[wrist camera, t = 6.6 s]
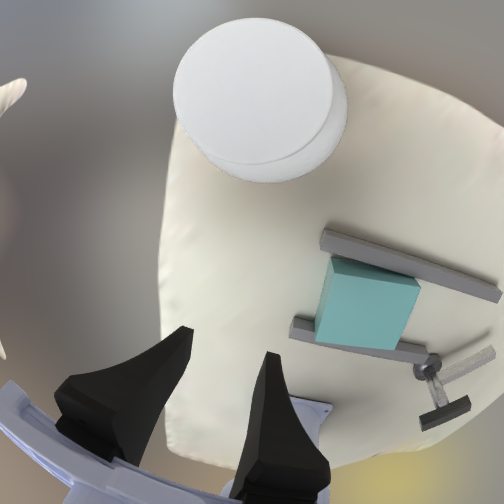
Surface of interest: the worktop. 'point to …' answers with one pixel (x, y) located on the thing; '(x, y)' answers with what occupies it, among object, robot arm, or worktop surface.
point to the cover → (364, 305)
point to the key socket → (431, 361)
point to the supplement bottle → (260, 100)
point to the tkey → (435, 382)
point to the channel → (399, 264)
